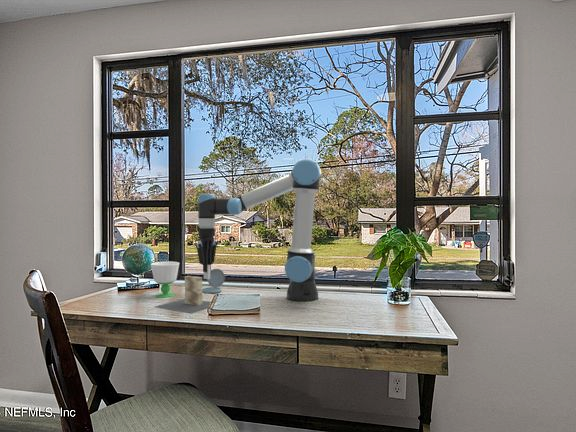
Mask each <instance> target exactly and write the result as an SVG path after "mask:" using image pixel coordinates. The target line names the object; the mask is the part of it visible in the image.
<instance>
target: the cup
mask: <svg viewBox="0 0 576 432" xmlns="http://www.w3.org/2000/svg"><path fill="white" fill-rule="evenodd" d="M179 267H180V262H178V261H156V262H152V263H151V264H150V270H151V272H152V277H153V281H154V282H155V283H156V284H159V285H161V287H160V291H161V293H158V294H156V295H155V297H156V298H170V297H174V296H175V295H176V294H175V293H172V292H170V291H171V286H170V284H173V283H174V282H176V281H177V279H178V273H179Z"/></svg>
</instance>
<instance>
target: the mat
mask: <svg viewBox="0 0 576 432" xmlns="http://www.w3.org/2000/svg"><path fill="white" fill-rule="evenodd" d="M211 302H212V301H207V300H202V305H199V306H198V305H192V304H186V303H185V298H182V299H179V300H174V301H170V302H167V303H163V304H159V305H156V306H154V308H156V309H162V310H163V309H164V310H168V311H174V312H179V313H186V314H192V315H193V314H195V313H198V312H201V311H204V310H208V309H210V308H209V305H210V303H211Z"/></svg>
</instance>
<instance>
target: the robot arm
mask: <svg viewBox="0 0 576 432" xmlns="http://www.w3.org/2000/svg"><path fill="white" fill-rule="evenodd" d="M321 178H322V169H321V166H320V165H319V164H318V162H317V161H316V160H314V159H312V158H308V157H307V158H301V159H299V160H298V161H297V162H295V164H294V165H293V167H292V170H291V171H289V173H288V174H287V175H284V176H282V177H279V178H277V179H275V180H273V181H271V182H269V183H266V184H263V185H261V186H259V187H257V188H254V189H252V190H249V191H247V192H245V193H243V194H241V195H239V196H236V197H226V198H225V197H224V198H219V197H216V195H215V194H214V193H200V194H199V195H198V200H197V201H198V203H197V208H198V209H197V210H198V213H197V214H198V216H197V217H198V221H197V222H198V229H197V230H198V232H197V233H198V237H199V239H198V241H199V242H197V243H195V249H196V251H197V257H198V263H199V264H200V265H202V271H203V280H207V279H210V271H211V270H212V265H213V264H214V263H215V258H216V254H217V253H216V252H217V246H218V244H219V243H218V241H215V236H216V228H215V227H216V215H222V216H223V215H226V216H235V215H240V214H241V213H243V212H245V211H247V210H249V209H251V208H254V207H256V206H258V205H261V204H263V203H265V202H268V201H270V200H272V199H275V198H277V197H280V196H282V195H284V194H288V193H289V192H292V191H294V193H295V199H294V209H293V210H294V211H293V223H292V233H291V234H292V235H291V245H290V247H288V249H287V254H286V262H285V264H284V272H285V275H286V277H287V278H288V279H289V284H288V288H287V291H286V298H287V299H288V300H291V301H298V302H310V301H315V300H318V299H319V290H318V289H317V287H318V286H317V285H316V281H315V279H316V276H315V275H316V274H315V273H316V272H315V269H316V268H315V266H316V265H315V263H316V262H315V260H316V259H315V258H316V255H315V254H316V253H315V251H314V250H313V249H312V248H311V247H312V233H313V223H314V222H313V221H314V212H315V211H314V210H315V199H316V194H317V193H318V192H319V190H320V182H321Z"/></svg>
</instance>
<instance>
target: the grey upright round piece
mask: <svg viewBox="0 0 576 432" xmlns="http://www.w3.org/2000/svg"><path fill="white" fill-rule="evenodd" d="M206 280H207V283H208V285H209V287H208V286H207V287H202V294H209V295H213V294H219V293H221V292H222V289H221V288H220V287H221V286H222V285H224V283H225V281H226V276H225V273H224V271H223V270H222V269H220V268H214V269H211V271H210V279H206Z"/></svg>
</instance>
